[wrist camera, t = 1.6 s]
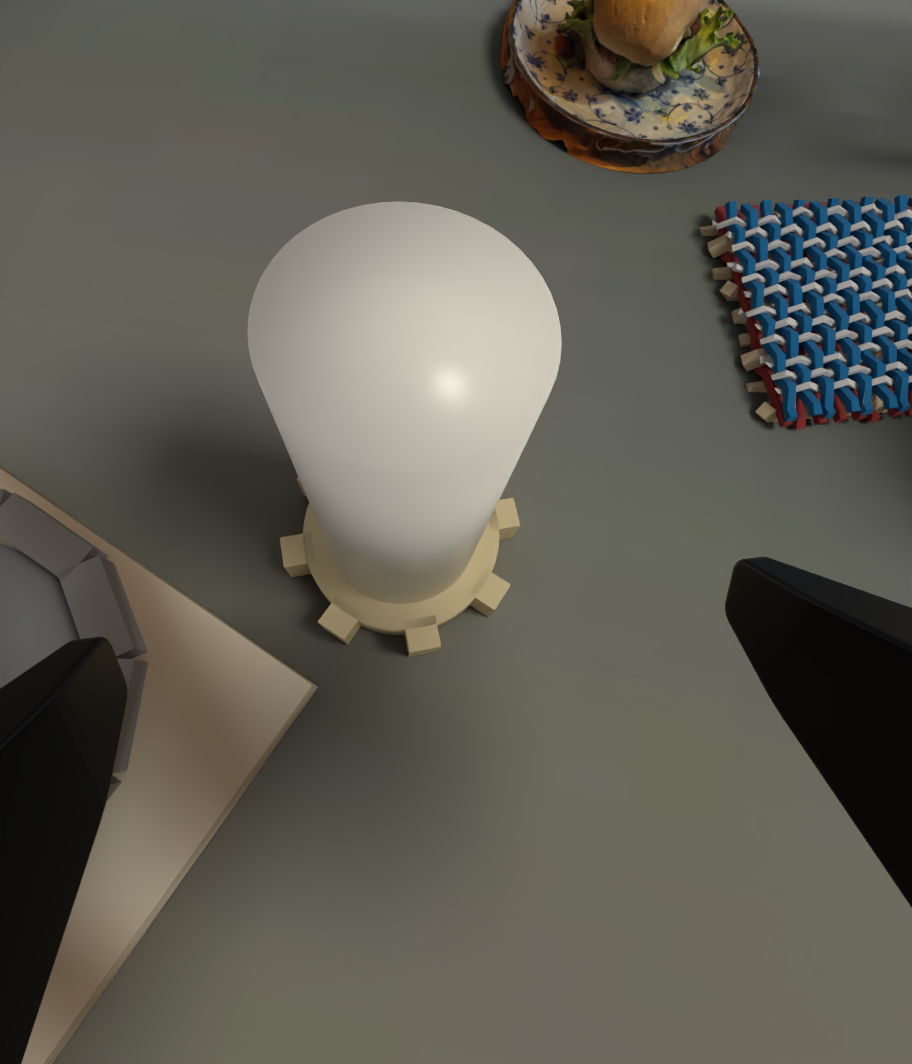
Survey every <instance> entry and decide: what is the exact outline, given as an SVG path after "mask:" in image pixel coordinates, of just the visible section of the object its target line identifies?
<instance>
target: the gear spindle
mask: <svg viewBox="0 0 912 1064" xmlns="http://www.w3.org/2000/svg"><path fill="white" fill-rule="evenodd" d="M247 331H248V348H249V352H250V357H251V362H252V366H253V369H254V371H255V374H256V377H257V379H258V382H259V384H260V387H261V389H262V391H263V394H264V396H265V399H266V401H267V403H268V406H269V408H270V410H271V413H272V415H273V418H274V420H275V422H276V425H277V427H278V429H279V432H280V434H281V437H282V439H283V441H284V444H285V446H286V448H287V451H288V453H289V456H290V458H291V460H292V463H293V465H294V467H295V470H296V472H297V475H298V478H297V482H298V484H299V486H300V489H301V491H302V493H303V495H305V496H306V497H307V498H308V501H309V505H308V508H307V510H306V514H305V519H304V525H303V534H298V535H292V536H286V537H280V544H281V551H282V558H283V565H284V568H285V570H286V571H287V572H288V574H289V575H290V576H291V577H298V576H303V575H309V574H312V576H313V578H314V580H315V581H316V583H317V585H318V587H319V588H320V590H321V591H322V593H323V594H324V596H325V597H326V598H327V600H328V601H329V602H330V606H329V607H328V608H327V610H326V611H325V612H324V614H323V615H322V617H321V618H320V619H319V621H318V623H319V624H320V625H321V626H322V628H323V629H325V630H326V631H328V632H329V633H331V634H332V635H334V636H335V637H337V638H338V639H340V640H341V641H342V642H344V643H345V644H347V645H348V644H349V643H350V641H351V640H352V639H353V637H354V636H355V634H356V633H357V632H358V630H359V629H360V627H363V628H366V629H368V630H371V631H375V632H378V633H382V634H389V635H405V639H406V645H407V650H408V656H409V657H412V656H417V655H421V654H426V653H431V652H436V651H439V649H440V648H441V643H440V638H439V633H438V627H441V626H443V625H445V624H447V623H448V622H450V621H452V620H453V619H455V618H456V617H457V616H459V615H460V614H461V613H463V612H464V611H465V610H466V609H467V608H468V607H469V606H472V607H473V608H475V609H476V610H478V611H479V612H481V613H482V614H484V615H485V616H487V617H489V616H490V615H491V614H492V612H493V611H494V610H495V609H496V607H497V606H498V604H499V603H500V601H501V599H502V598H503V596H504V595H505V593H506V592H507V590H508V588H509V587H510V584H509V583H507V582H506V581H504V580H503V579H501V578H500V577H498V576H497V575H495V574H494V573H492V570H493V567H494V565H495V562H496V557H497V553H498V547H499V540H503V539H508V538H512V537H513V536H514V534H515V533H516V531H517V530H518V528H519V527H520V522H519V518H518V514H517V510H516V506H515V502H514V498H509V499H503V500H499V499H500V497H501V495H502V493H503V491H504V488H505V486H506V484H507V482H508V480H509V478H510V476H511V474H512V472H513V470H514V468H515V466H516V463H517V461H518V459H519V457H520V455H521V453H522V451H523V449H524V447H525V445H526V443H527V440H528V438H529V436H530V434H531V432H532V430H533V428H534V426H535V424H536V422H537V420H538V417H539V415H540V413H541V411H542V409H543V407H544V405H545V403H546V401H547V399H548V397H549V394H550V392H551V389H552V387H553V384H554V382H555V379H556V377H557V372H558V368H559V364H560V357H561V344H562V342H561V328H560V322H559V317H558V313H557V308H556V306H555V303H554V300H553V298H552V295H551V292H550V291H549V289H548V287H547V285H546V283H545V281H544V279H543V277H542V276H541V275H540V273H539V272H538V270H537V269H536V267H535V266H534V265H533V263H532V262H531V261H530V260H529V259H528V258H527V257H526V255H525V254H524V253H523V252H522V251H521V250H520V249H519V248H518V247H517V246H515V245H514V244H513V243H512V242H511V241H510V240H508V239H507V238H506V237H505V236H503V235H502V234H500V233H499V232H497V231H496V230H494V229H493V228H491V227H490V226H488V225H486V224H484V223H482V222H480V221H478V220H477V219H475V218H472V217H470V216H467V215H465V214H462V213H460V212H457V211H454V210H450V209H447V208H443V207H440V206H435V205H429V204H423V203H414V202H381V203H374V204H367V205H361V206H357V207H354V208H350V209H346V210H343V211H340V212H338V213H335V214H333V215H330V216H327V217H325V218H323V219H322V220H320V221H318V222H316V223H314V224H312V225H310V226H309V227H307V228H306V229H305V230H303V231H302V232H300V233H299V234H297V235H296V236H295V237H294V238H292V239H291V240H290V241H289V242H288V243H287V244H286V245H285V246H284V247H283V248H282V249H281V250H280V251H279V252H278V253H277V255H276V256H275V257H274V258H273V259H272V261H271V262H270V263H269V265H268V267H267V268H266V270H265V271H264V273H263V275H262V276H261V278H260V280H259V283H258V285H257V287H256V290H255V292H254V295H253V299H252V302H251V306H250V310H249V318H248V328H247Z"/></svg>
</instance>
